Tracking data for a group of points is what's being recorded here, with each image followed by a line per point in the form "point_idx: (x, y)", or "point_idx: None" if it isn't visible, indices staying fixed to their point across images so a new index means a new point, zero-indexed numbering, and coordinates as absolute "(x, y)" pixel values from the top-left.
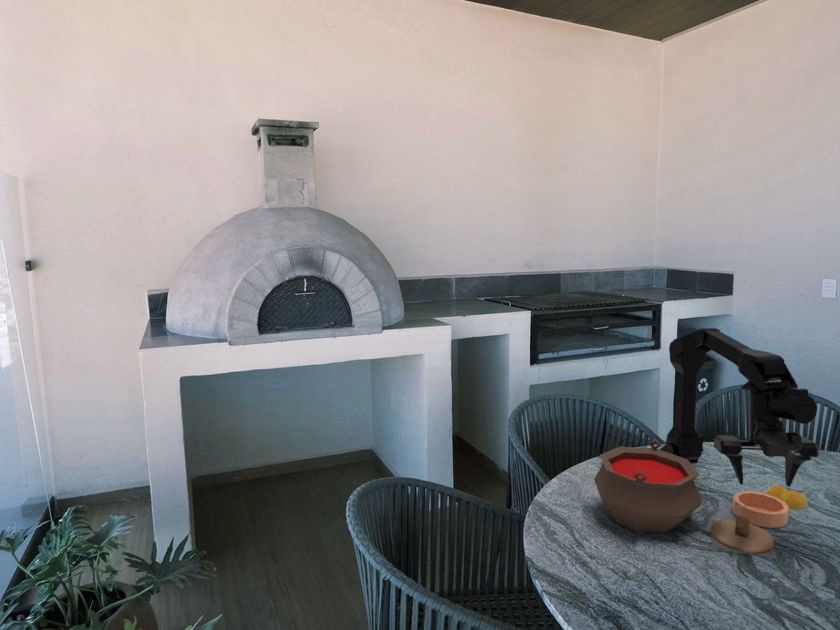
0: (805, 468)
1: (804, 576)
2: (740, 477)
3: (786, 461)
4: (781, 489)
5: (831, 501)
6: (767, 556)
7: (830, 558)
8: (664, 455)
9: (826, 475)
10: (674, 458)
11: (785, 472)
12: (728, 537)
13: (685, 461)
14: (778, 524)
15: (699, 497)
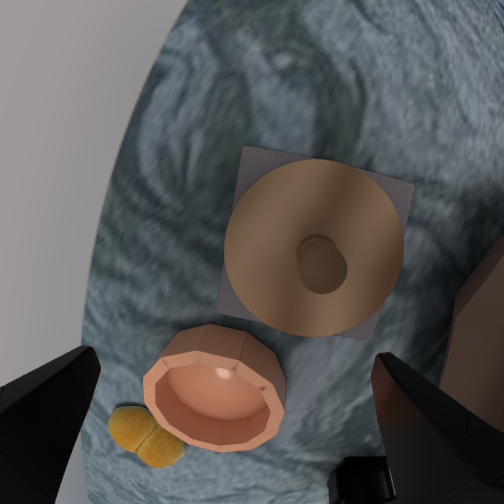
0: (114, 492)
1: (195, 95)
2: (416, 381)
3: (45, 487)
4: (148, 454)
5: None
6: (269, 151)
7: (105, 209)
8: None
9: (90, 475)
10: None
11: (75, 432)
12: (368, 220)
13: None
14: (183, 337)
15: (477, 323)
